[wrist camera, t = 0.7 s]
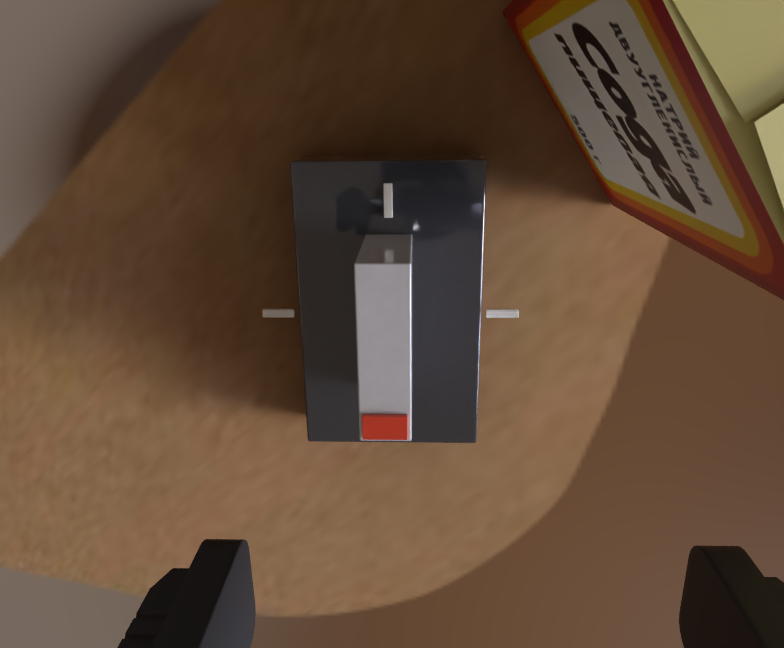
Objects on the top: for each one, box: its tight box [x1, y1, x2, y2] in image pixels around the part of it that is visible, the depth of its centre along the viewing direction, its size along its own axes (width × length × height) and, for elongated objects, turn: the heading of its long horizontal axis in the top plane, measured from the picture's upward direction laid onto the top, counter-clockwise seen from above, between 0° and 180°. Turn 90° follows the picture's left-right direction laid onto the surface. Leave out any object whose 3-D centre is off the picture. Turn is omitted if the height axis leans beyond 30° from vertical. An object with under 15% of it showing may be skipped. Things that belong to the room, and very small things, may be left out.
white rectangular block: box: [354, 234, 413, 441], centre depth 25 cm, size 7×2×5 cm, turn 1°
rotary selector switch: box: [262, 155, 519, 443], centre depth 29 cm, size 13×11×3 cm
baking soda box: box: [503, 0, 784, 300], centre depth 19 cm, size 10×6×16 cm
